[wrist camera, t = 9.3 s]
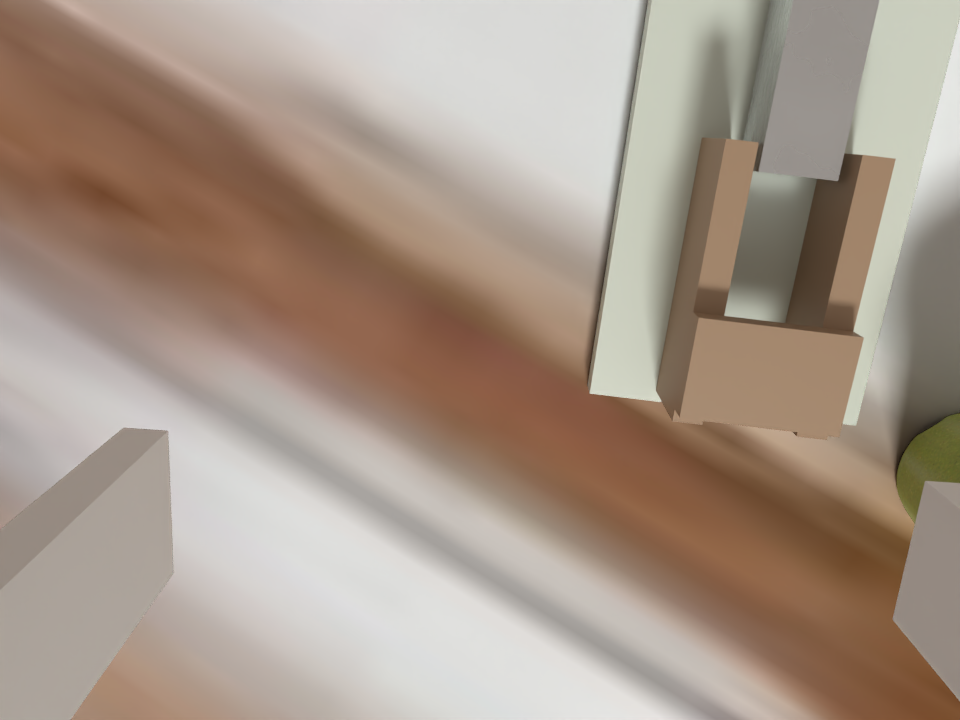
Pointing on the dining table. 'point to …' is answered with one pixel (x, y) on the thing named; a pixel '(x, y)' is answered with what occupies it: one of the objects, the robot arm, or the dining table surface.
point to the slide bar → (808, 85)
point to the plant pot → (929, 462)
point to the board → (759, 225)
